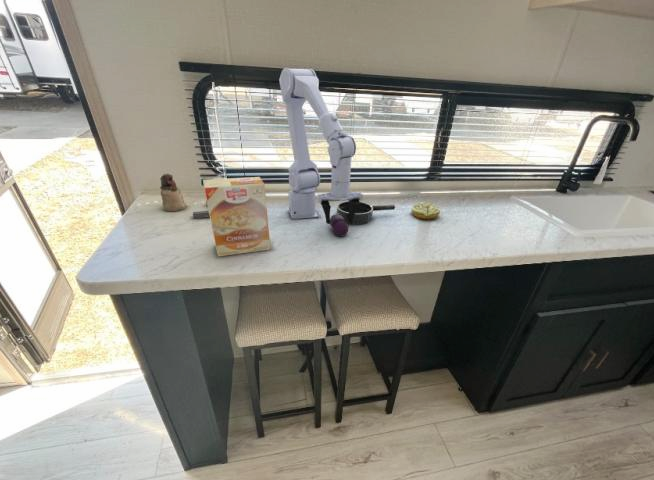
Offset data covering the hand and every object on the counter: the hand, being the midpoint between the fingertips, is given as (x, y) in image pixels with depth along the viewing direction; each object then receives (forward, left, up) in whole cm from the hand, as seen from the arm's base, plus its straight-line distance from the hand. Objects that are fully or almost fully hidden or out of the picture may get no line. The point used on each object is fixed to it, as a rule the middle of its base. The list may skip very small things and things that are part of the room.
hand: (339, 222), depth 109 cm
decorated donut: (+37, +9, -4) cm, 38 cm away
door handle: (-38, +23, -4) cm, 45 cm away
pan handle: (+20, +11, -1) cm, 23 cm away
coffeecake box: (-31, -6, -4) cm, 32 cm away
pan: (+9, +11, -4) cm, 15 cm away
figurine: (-53, +30, -4) cm, 61 cm away
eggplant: (0, +1, -4) cm, 4 cm away
